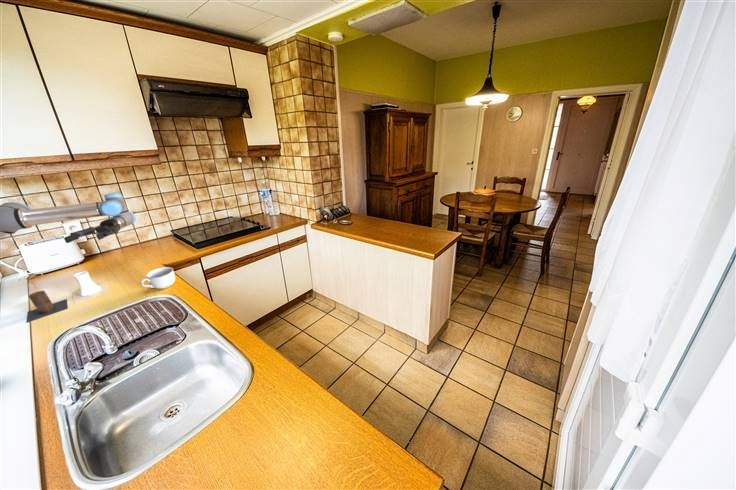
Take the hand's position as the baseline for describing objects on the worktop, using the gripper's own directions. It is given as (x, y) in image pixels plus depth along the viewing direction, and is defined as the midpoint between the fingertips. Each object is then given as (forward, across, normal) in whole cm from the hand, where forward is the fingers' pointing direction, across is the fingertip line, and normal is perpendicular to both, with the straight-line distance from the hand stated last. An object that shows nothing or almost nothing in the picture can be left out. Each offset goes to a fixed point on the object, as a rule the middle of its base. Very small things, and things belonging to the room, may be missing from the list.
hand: (82, 238), depth 128 cm
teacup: (+13, -33, -25) cm, 44 cm away
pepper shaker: (+23, +7, -24) cm, 34 cm away
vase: (+10, 0, -24) cm, 26 cm away
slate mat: (+22, +8, -25) cm, 34 cm away
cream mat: (+10, 0, -25) cm, 27 cm away
